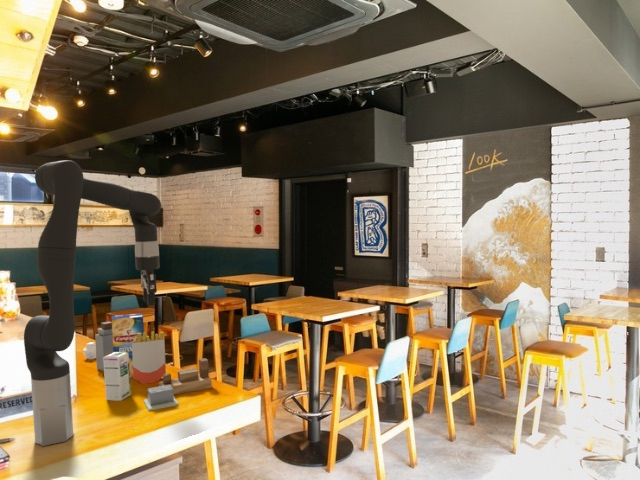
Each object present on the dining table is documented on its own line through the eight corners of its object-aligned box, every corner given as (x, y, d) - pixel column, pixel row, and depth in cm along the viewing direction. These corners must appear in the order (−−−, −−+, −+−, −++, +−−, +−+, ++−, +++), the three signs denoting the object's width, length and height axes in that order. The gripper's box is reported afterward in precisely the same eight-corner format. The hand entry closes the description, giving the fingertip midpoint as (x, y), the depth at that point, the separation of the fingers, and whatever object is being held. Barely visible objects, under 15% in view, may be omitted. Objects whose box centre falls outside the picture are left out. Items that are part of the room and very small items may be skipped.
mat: (178, 404, 159) (178, 403, 159) (148, 411, 155) (148, 409, 154) (172, 396, 167) (172, 394, 167) (143, 401, 162) (143, 399, 162)
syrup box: (121, 401, 163) (119, 356, 163) (105, 400, 165) (102, 356, 164) (131, 394, 169) (129, 351, 168) (115, 394, 170) (113, 351, 169)
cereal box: (146, 374, 190) (143, 316, 189) (114, 379, 186) (111, 319, 185) (145, 369, 196) (142, 313, 195) (114, 373, 192) (111, 316, 191)
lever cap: (173, 401, 160) (173, 389, 160) (150, 406, 157) (150, 393, 157) (170, 396, 165) (169, 384, 164) (147, 401, 161) (147, 388, 161)
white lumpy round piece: (97, 355, 218) (96, 339, 218) (101, 358, 214) (100, 341, 213) (81, 358, 215) (80, 342, 214) (85, 361, 210) (84, 344, 209)
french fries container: (133, 381, 183) (130, 331, 182) (164, 376, 187) (162, 328, 186) (134, 384, 179) (131, 334, 178) (166, 380, 183) (163, 330, 182)
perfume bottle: (96, 368, 200) (94, 323, 199) (113, 364, 205) (111, 320, 204) (104, 371, 195) (102, 325, 194) (121, 367, 200) (119, 322, 199)
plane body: (211, 387, 174) (210, 361, 173) (163, 396, 166) (162, 369, 166) (206, 381, 180) (204, 356, 180) (159, 390, 173) (158, 364, 172)
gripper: (132, 254, 173) (134, 301, 174) (138, 257, 160) (141, 307, 161) (154, 252, 177) (156, 299, 177) (163, 255, 164) (165, 305, 165)
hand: (149, 303), depth 169 cm, fingers open, 8 cm apart
